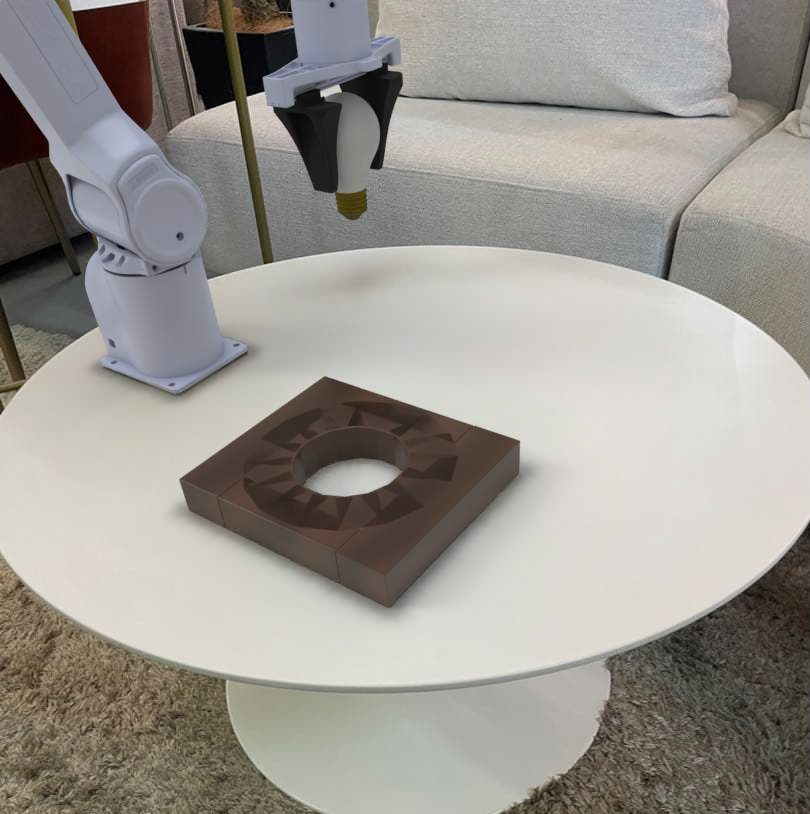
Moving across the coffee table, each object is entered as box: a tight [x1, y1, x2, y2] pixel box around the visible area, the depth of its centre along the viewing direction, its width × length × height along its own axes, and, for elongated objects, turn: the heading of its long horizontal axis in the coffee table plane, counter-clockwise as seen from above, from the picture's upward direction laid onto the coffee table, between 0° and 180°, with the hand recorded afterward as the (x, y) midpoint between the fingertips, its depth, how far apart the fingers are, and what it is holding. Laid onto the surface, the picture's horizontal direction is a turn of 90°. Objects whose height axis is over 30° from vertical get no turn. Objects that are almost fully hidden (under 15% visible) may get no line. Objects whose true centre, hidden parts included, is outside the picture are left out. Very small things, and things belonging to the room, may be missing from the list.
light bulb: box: [324, 91, 380, 221], centre depth 68 cm, size 6×6×10 cm
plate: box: [178, 375, 521, 608], centre depth 51 cm, size 16×14×2 cm
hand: (348, 179), depth 69 cm, fingers closed on light bulb, 6 cm apart
